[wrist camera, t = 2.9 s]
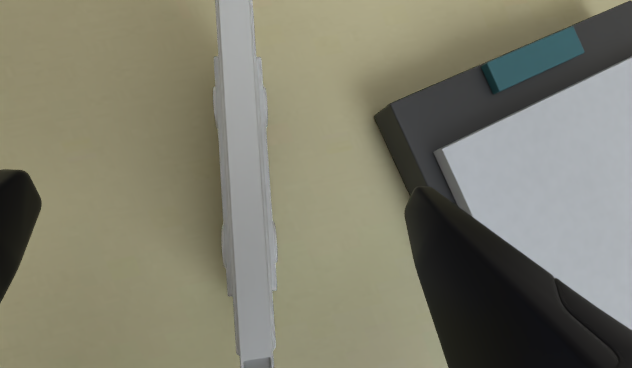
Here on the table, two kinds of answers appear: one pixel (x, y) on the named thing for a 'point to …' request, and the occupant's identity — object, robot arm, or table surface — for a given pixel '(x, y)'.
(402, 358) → the table surface
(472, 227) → the robot arm
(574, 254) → the scale
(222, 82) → the cassette
